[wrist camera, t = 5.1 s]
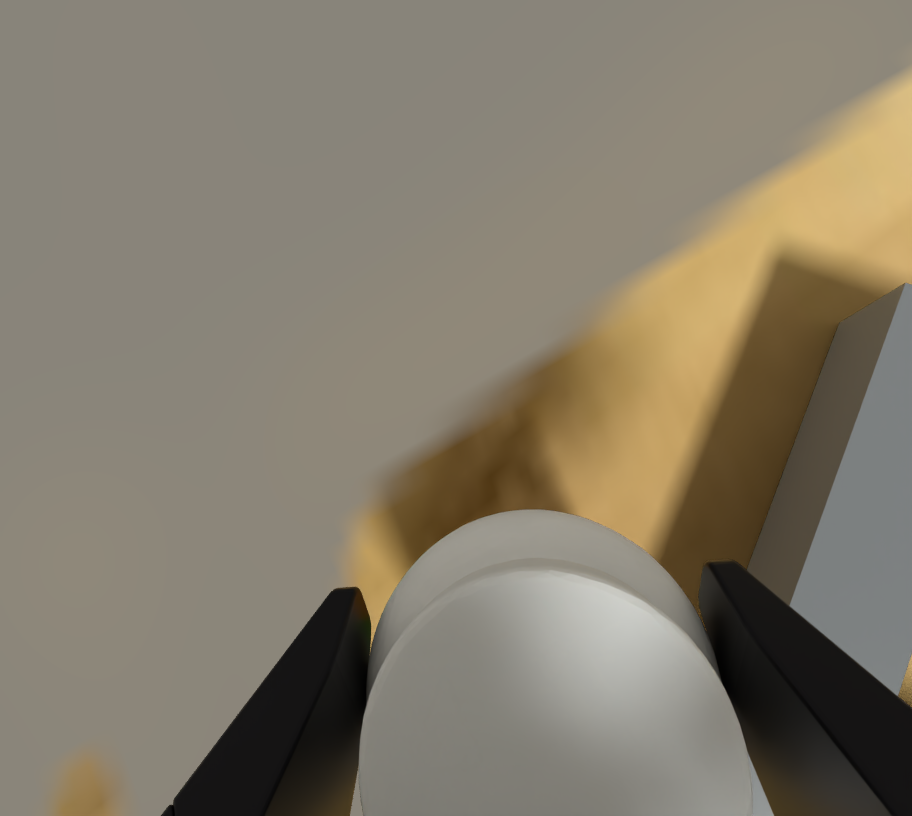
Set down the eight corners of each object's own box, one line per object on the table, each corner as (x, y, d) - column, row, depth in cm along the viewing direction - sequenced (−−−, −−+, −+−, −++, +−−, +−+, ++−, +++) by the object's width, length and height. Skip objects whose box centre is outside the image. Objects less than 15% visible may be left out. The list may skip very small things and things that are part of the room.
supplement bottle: (399, 573, 16) (209, 649, 6) (563, 480, 16) (628, 410, 6) (493, 763, 14) (438, 1231, 5) (672, 660, 14) (970, 928, 5)
